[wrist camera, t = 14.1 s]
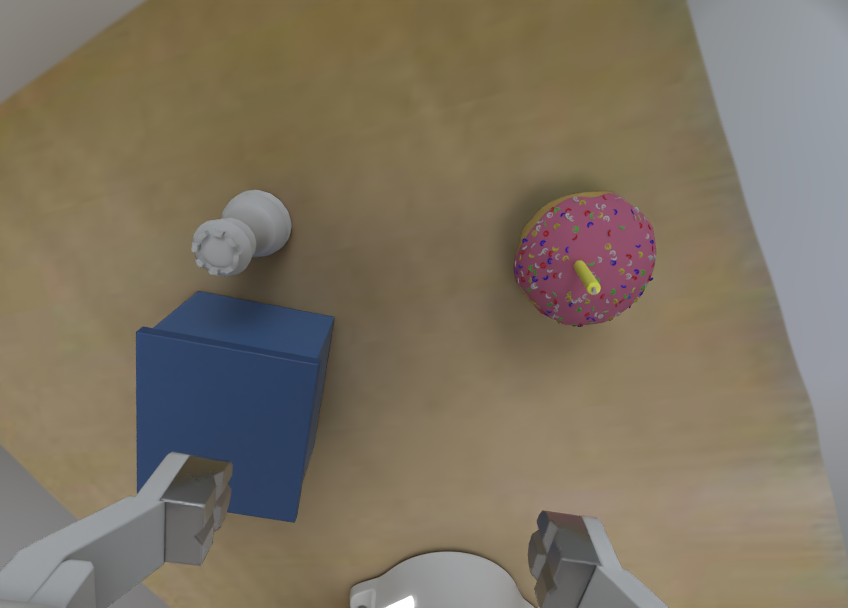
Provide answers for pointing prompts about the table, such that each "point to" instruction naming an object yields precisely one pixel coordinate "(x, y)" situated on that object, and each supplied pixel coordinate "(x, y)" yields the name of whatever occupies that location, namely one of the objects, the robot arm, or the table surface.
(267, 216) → the rook chess piece
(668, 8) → the table surface
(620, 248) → the cupcake
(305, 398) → the blue box
